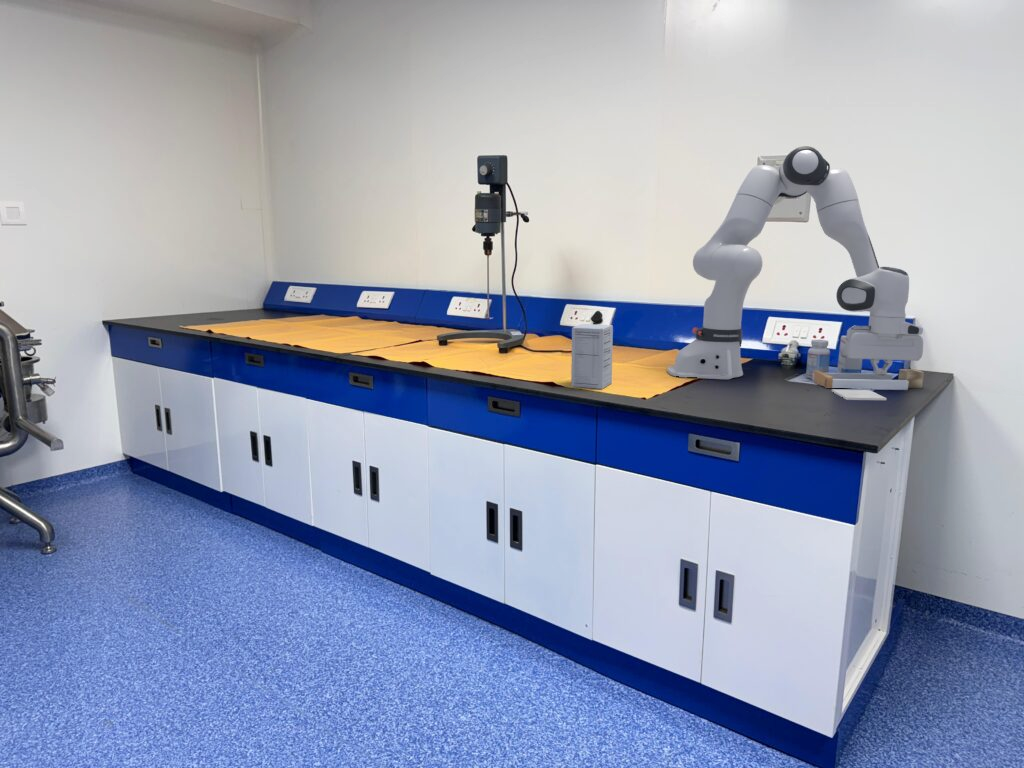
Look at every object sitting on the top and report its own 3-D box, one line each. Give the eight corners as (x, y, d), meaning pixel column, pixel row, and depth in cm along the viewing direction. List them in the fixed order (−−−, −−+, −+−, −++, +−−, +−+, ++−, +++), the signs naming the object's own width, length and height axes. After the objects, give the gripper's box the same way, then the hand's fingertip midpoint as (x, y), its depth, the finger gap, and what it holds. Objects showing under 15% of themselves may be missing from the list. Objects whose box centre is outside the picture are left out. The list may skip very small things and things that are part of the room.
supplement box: (612, 383, 200) (614, 324, 197) (602, 389, 192) (604, 328, 188) (580, 380, 204) (582, 323, 200) (569, 386, 196) (571, 326, 192)
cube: (905, 387, 196) (907, 372, 195) (897, 384, 201) (899, 369, 200) (921, 388, 196) (924, 372, 195) (913, 384, 201) (915, 369, 200)
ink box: (861, 378, 208) (865, 339, 206) (843, 378, 209) (847, 339, 207) (853, 373, 216) (857, 335, 214) (836, 372, 217) (840, 335, 215)
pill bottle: (826, 376, 211) (830, 339, 209) (828, 380, 205) (832, 342, 203) (805, 375, 213) (808, 338, 211) (806, 379, 207) (809, 341, 205)
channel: (826, 388, 194) (827, 377, 194) (811, 380, 205) (812, 369, 204) (907, 389, 193) (909, 378, 192) (888, 381, 204) (890, 371, 203)
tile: (846, 399, 181) (846, 397, 181) (831, 391, 191) (831, 389, 191) (886, 400, 181) (886, 398, 180) (868, 392, 190) (869, 389, 190)
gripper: (852, 326, 192) (846, 375, 195) (929, 328, 191) (922, 378, 194) (843, 323, 198) (837, 371, 201) (917, 326, 197) (910, 374, 200)
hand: (879, 375), depth 198 cm, fingers closed
